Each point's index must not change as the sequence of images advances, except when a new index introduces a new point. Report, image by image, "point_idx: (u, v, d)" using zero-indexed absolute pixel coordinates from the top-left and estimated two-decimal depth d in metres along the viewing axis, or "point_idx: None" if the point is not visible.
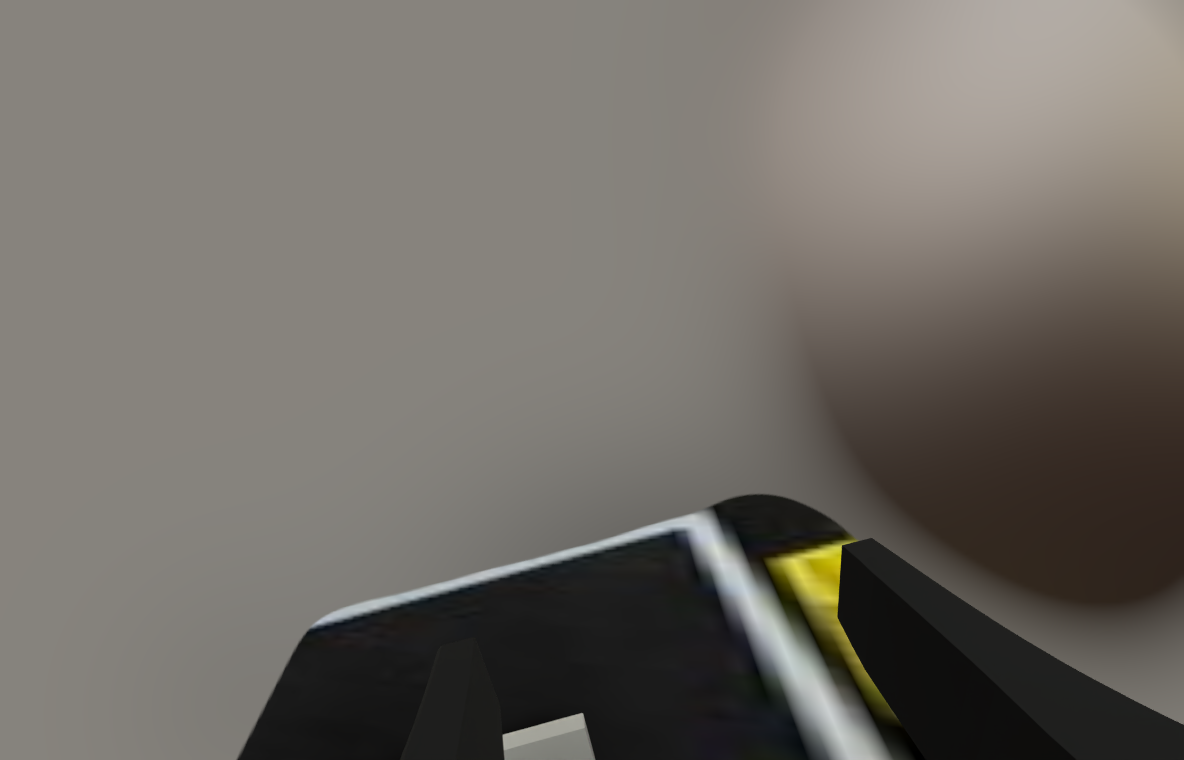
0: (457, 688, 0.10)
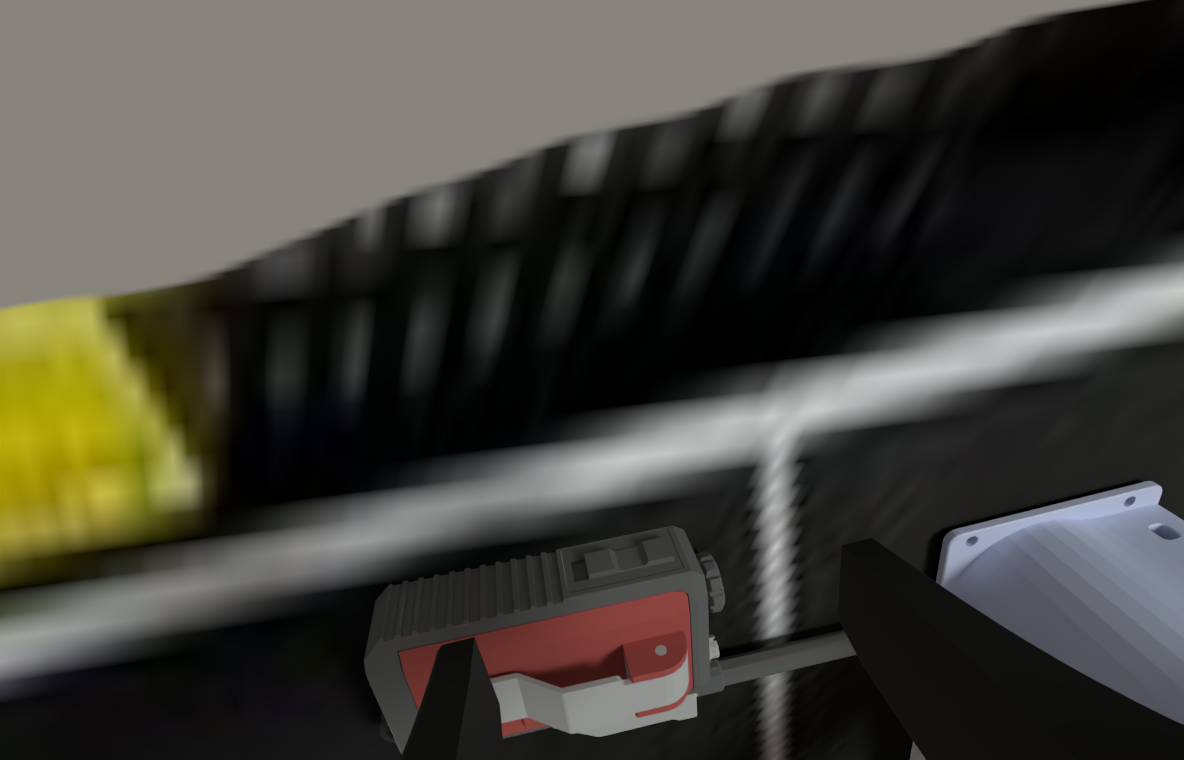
0: (457, 687, 0.10)
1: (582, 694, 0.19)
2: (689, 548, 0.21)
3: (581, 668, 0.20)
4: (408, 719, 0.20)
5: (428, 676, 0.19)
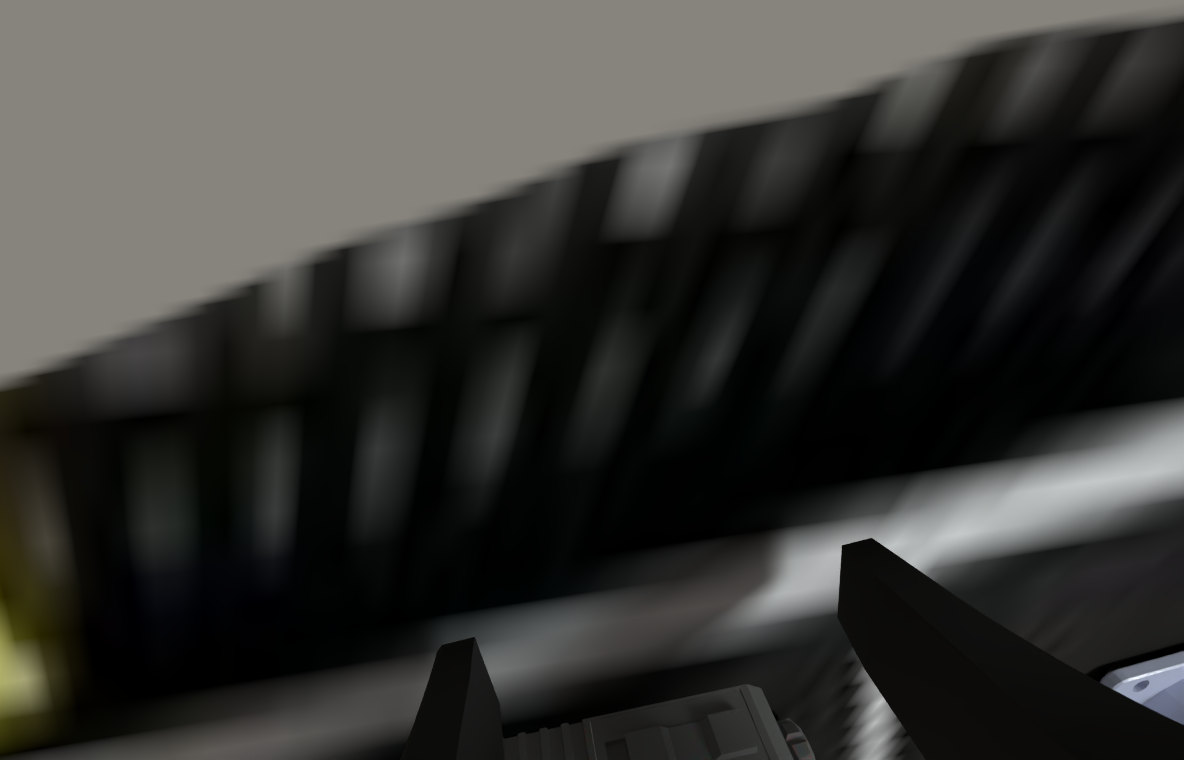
0: (457, 688, 0.10)
1: None
2: (774, 726, 0.15)
3: None
4: None
5: None
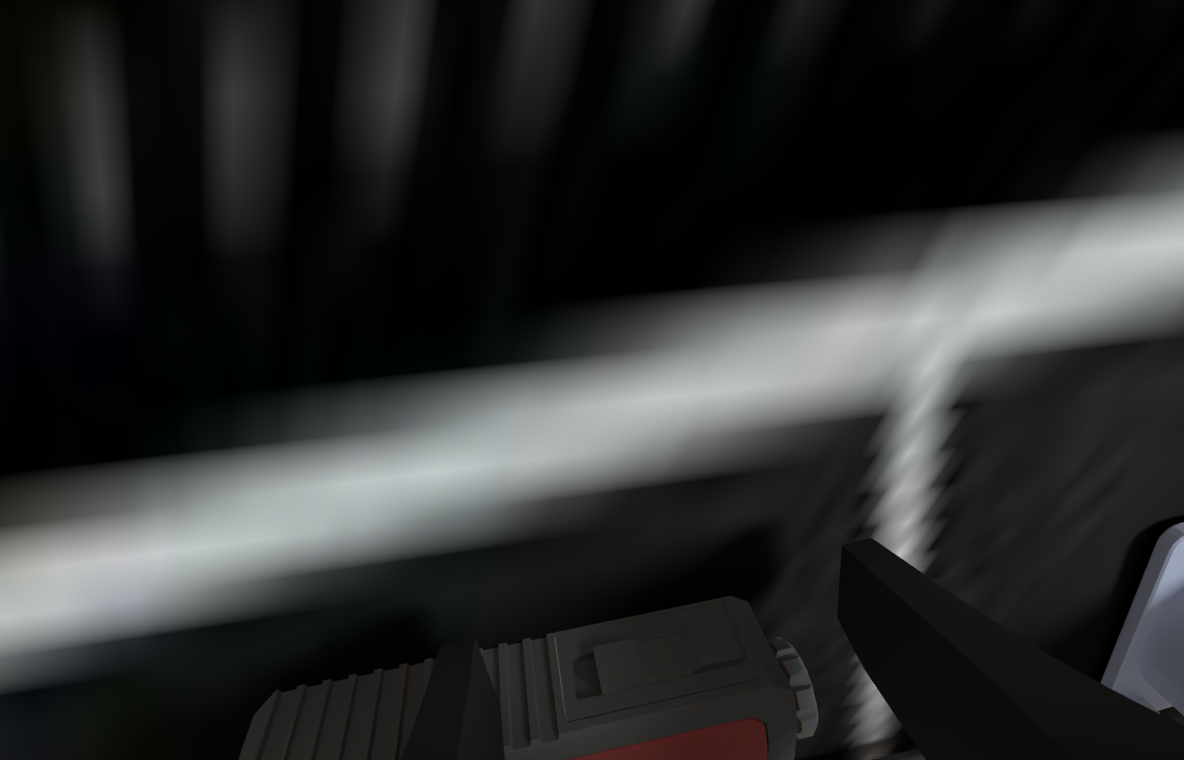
0: (457, 687, 0.10)
1: None
2: (762, 638, 0.13)
3: None
4: None
5: None
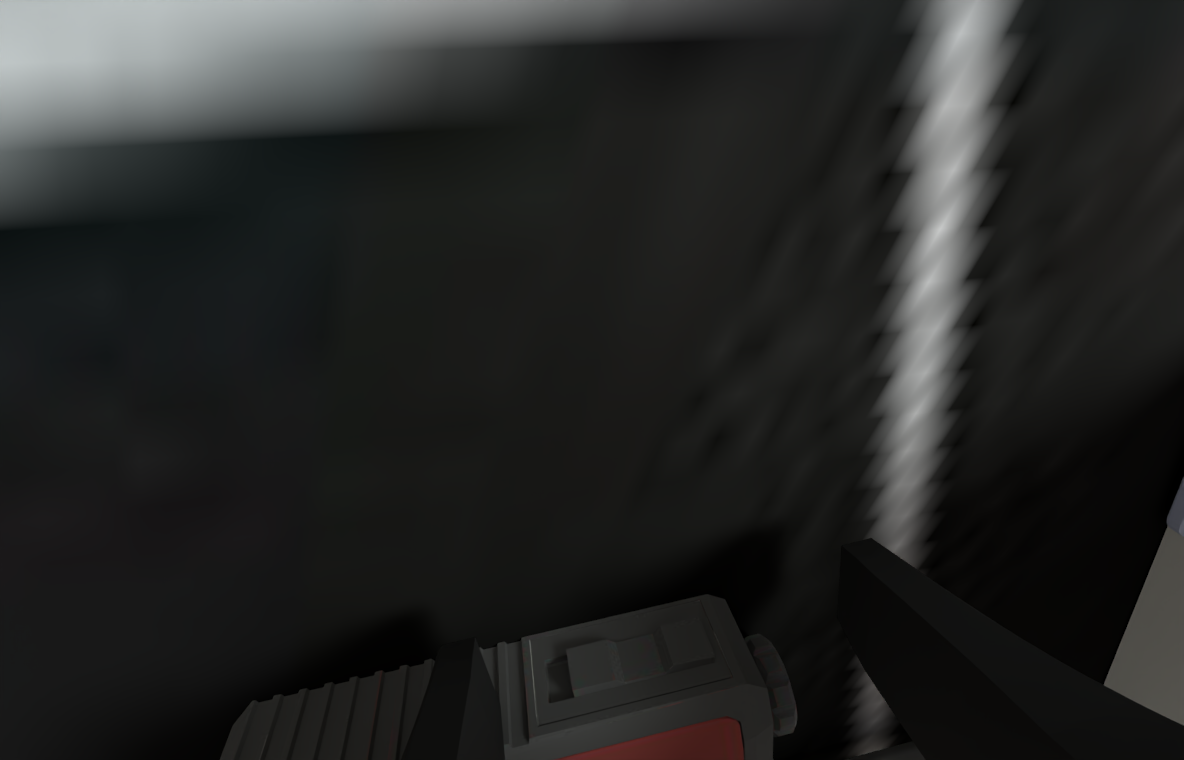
0: (457, 687, 0.10)
1: None
2: (737, 636, 0.13)
3: None
4: None
5: None
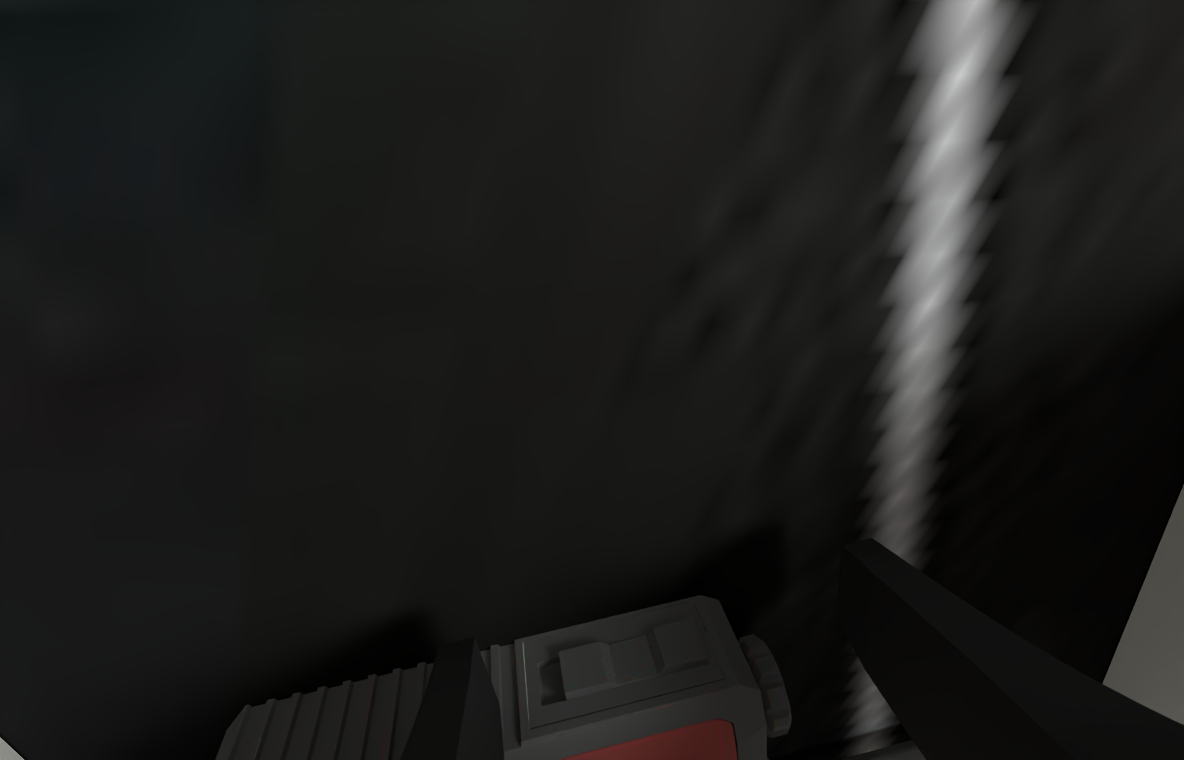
0: (456, 688, 0.10)
1: None
2: (731, 637, 0.13)
3: None
4: None
5: None
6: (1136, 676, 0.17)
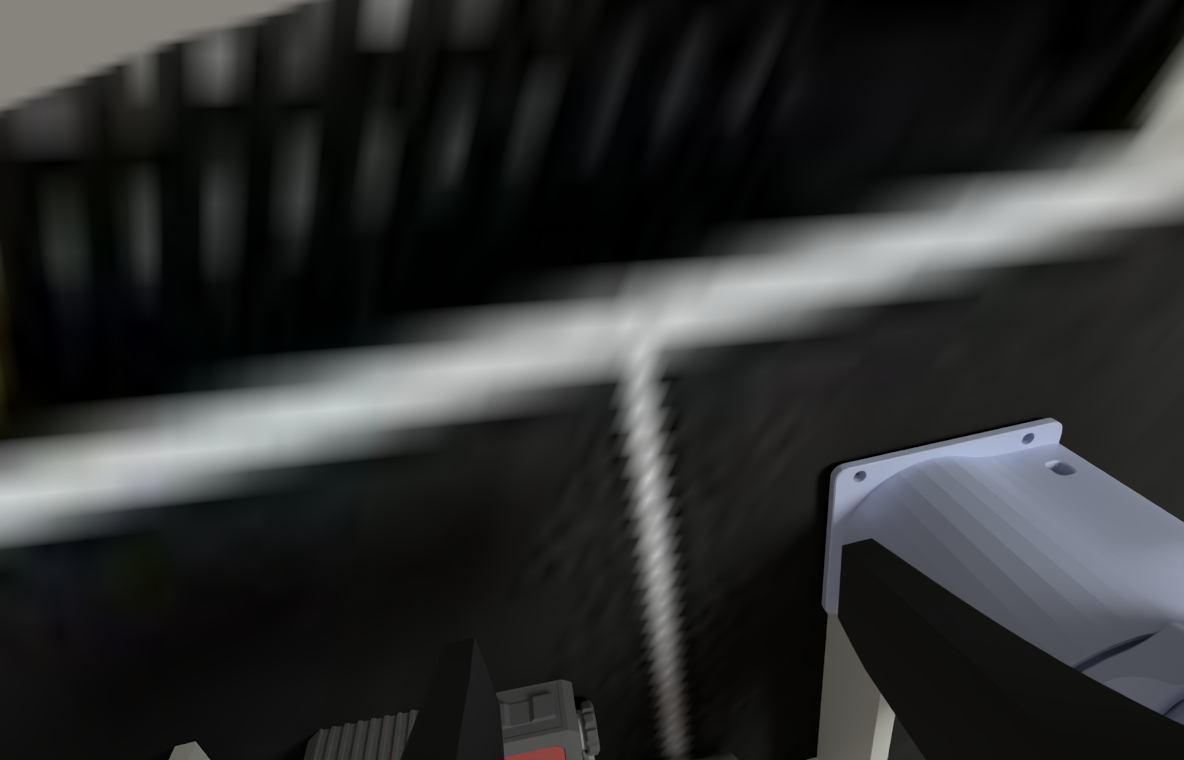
0: (457, 687, 0.10)
1: None
2: (571, 703, 0.25)
3: None
4: None
5: None
6: (827, 721, 0.30)
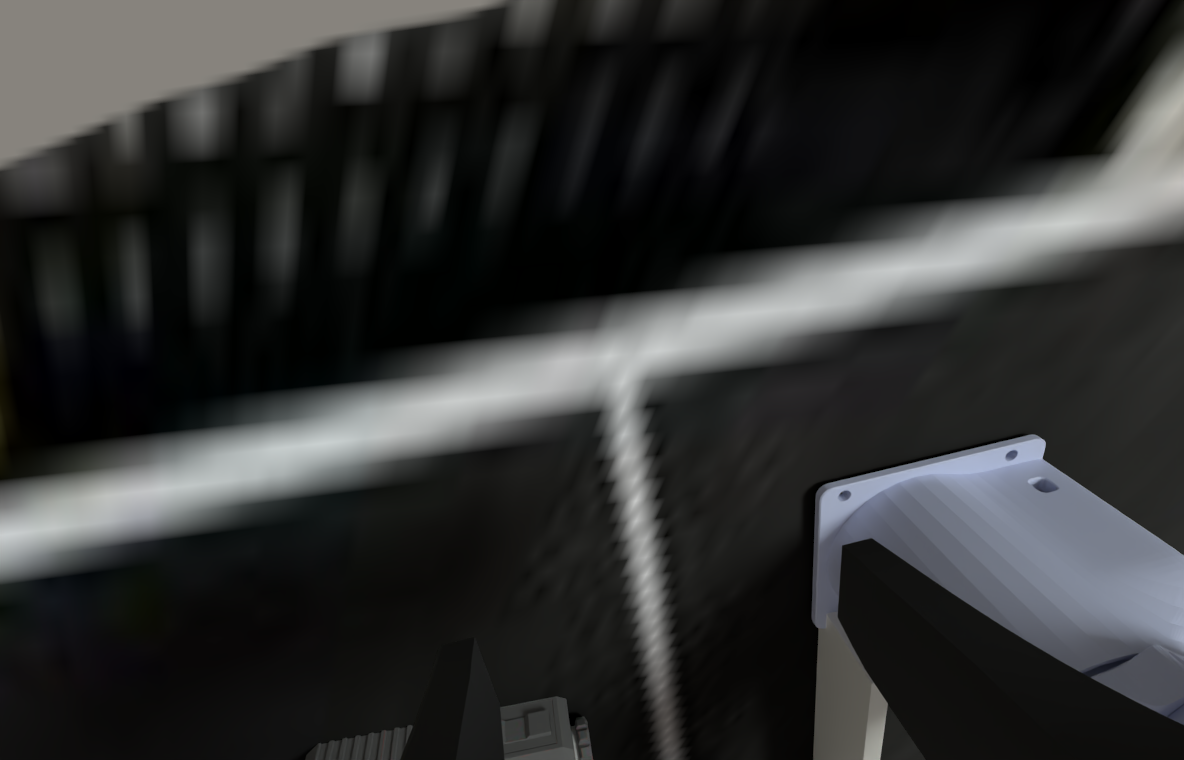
0: (457, 688, 0.10)
1: None
2: (566, 720, 0.26)
3: None
4: None
5: None
6: (821, 732, 0.30)
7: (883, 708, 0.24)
